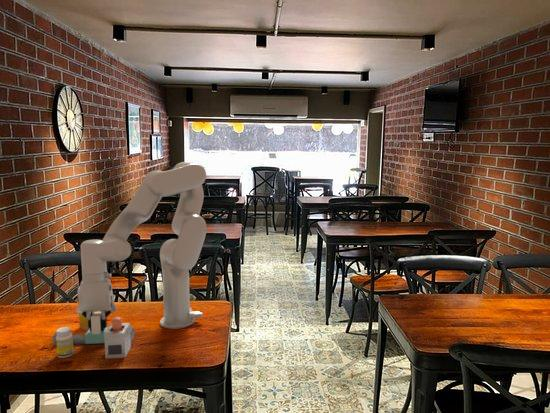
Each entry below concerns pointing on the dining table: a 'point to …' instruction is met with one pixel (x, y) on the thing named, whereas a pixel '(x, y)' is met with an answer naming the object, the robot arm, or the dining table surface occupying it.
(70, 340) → the supplement bottle
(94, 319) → the carriage
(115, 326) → the button
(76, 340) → the rail
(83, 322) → the beer can
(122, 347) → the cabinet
